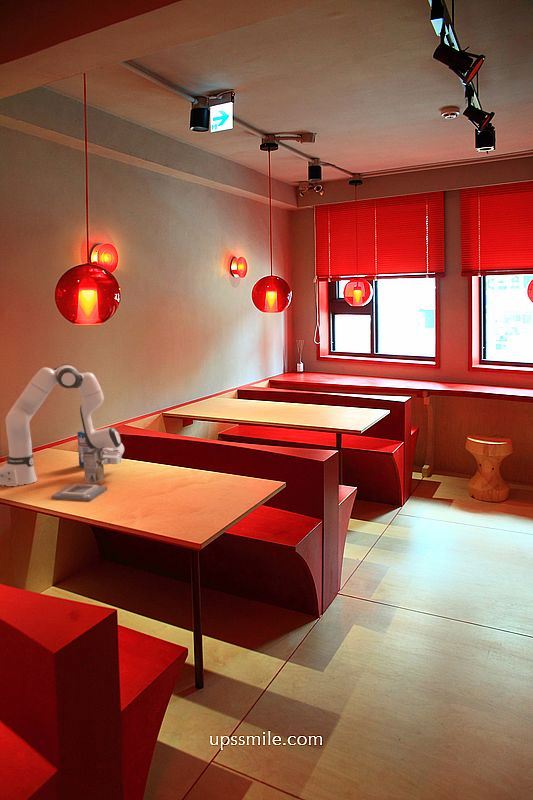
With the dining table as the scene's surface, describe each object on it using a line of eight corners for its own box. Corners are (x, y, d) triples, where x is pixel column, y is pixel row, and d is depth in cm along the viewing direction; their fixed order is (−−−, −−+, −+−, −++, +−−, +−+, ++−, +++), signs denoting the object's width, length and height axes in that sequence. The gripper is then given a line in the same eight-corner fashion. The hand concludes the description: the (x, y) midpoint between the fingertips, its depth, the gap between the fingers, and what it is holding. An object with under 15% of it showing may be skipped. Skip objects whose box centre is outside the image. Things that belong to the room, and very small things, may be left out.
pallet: (51, 498, 293) (51, 493, 292) (70, 487, 310) (70, 482, 310) (90, 501, 289) (90, 495, 288) (107, 489, 306) (107, 484, 306)
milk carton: (79, 466, 349) (77, 432, 346) (85, 463, 355) (83, 430, 352) (94, 468, 346) (92, 433, 343) (100, 465, 352) (98, 431, 349)
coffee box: (93, 477, 320) (91, 447, 317) (104, 478, 319) (102, 448, 315) (84, 483, 311) (82, 452, 308) (96, 483, 310) (94, 453, 307)
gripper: (87, 448, 328) (74, 455, 314) (123, 451, 324) (112, 457, 311) (88, 460, 329) (75, 467, 315) (123, 462, 325) (112, 469, 312)
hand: (93, 462), depth 313 cm, fingers closed on coffee box, 6 cm apart
